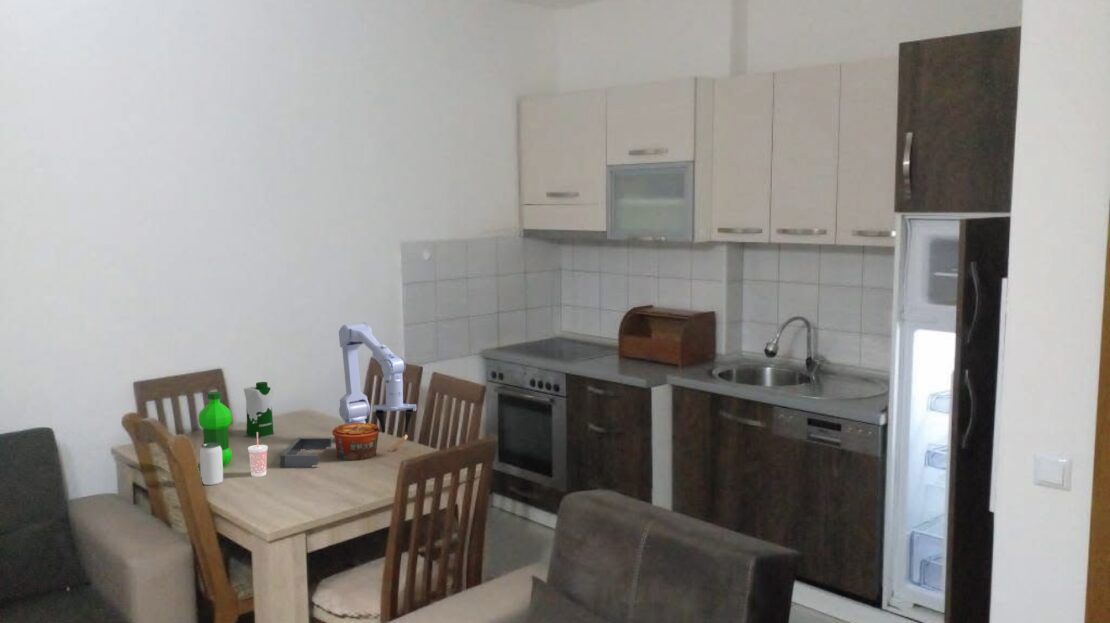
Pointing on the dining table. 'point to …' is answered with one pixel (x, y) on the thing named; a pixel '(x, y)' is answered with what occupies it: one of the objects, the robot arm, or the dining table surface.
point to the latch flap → (398, 443)
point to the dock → (303, 461)
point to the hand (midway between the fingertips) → (395, 431)
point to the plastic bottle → (216, 424)
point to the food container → (356, 441)
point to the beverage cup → (258, 459)
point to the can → (211, 463)
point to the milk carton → (259, 409)
